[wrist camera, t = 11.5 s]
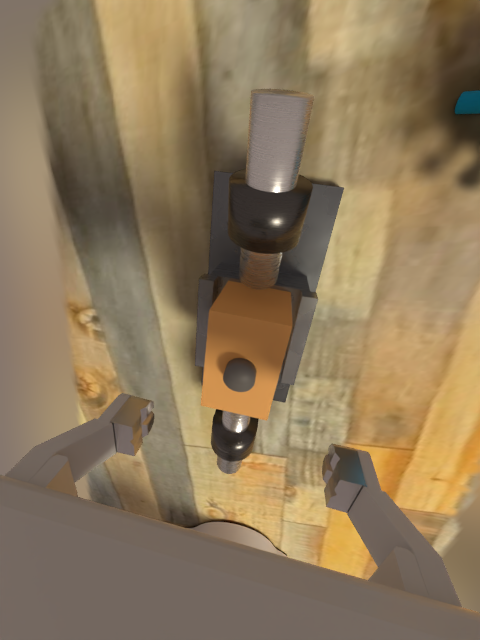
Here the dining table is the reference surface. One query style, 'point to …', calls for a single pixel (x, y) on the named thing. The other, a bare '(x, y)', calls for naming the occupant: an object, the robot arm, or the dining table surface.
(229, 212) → the shaft stand
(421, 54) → the dining table surface
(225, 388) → the block
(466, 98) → the gear
